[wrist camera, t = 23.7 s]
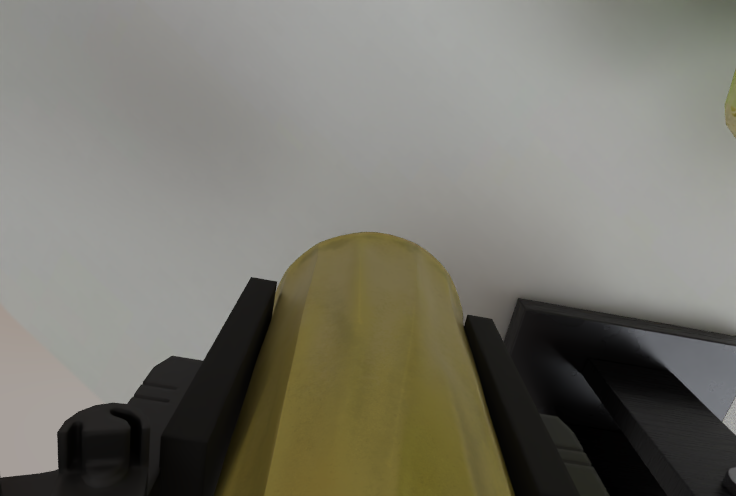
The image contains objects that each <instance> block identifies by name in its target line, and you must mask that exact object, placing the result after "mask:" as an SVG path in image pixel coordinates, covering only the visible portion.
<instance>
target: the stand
mask: <svg viewBox="0 0 736 496" xmlns="http://www.w3.org/2000/svg"><path fill="white" fill-rule="evenodd" d="M504 344H505V346H506V348H507V350H508V352H509V354H510V356H511V358H512V360H513V362H514V364H515V366H516V368H517V370H518V372H519V374H520V376H521V378H522V380H523V382H524V384H525V386H526V388H527V390H528V392H529V394H530V396H531V398H532V400H533V402H534V404H535V406H536V408H537V410H538V412H539V414H545V415H551V416H557V417H558V418H559V419H560V420H561V421H563V422H564V423H565V424H566V425H567V426H568V427H569V428H570V429H571V430H572V431H573V432H574V434H575V435H576V437H577V439H578V441H579V442H580V444H581V446H582V448H583V452H584V453H586V455H587V457H588V458H589V460H590V462H591V467H594V469H595V471H596V472H597V474H598V476H599V478H600V479H601V481H602V483H603V485H604V486H605V488H606V490H607V492H608V493H609V495H610V496H736V435H735V434H734V433H733V432H732V431H731V430H730V429H729V428H728V427H727V426H726V425H725V424H723V423H722V421H723V419H724V417H725V415H726V414H727V412H728V410H729V408H730V406H731V404H732V402H733V400H734V399H735V397H736V336H731V335H725V334H720V333H714V332H708V331H702V330H697V329H691V328H685V327H680V326H674V325H668V324H663V323H657V322H651V321H646V320H640V319H634V318H629V317H623V316H617V315H611V314H606V313H600V312H594V311H589V310H583V309H577V308H572V307H566V306H560V305H555V304H549V303H543V302H538V301H532V300H526V299H520V298H518V301H517V304H516V307H515V310H514V313H513V316H512V319H511V322H510V325H509V328H508V331H507V334H506V337H505V340H504Z"/></svg>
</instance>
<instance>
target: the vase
mask: <svg viewBox="0 0 736 496" xmlns="http://www.w3.org/2000/svg"><path fill="white" fill-rule="evenodd" d="M213 496H515V494H514V490H513V487H512V484H511V480H510V477H509V474H508V471H507V467H506V464H505V461H504V458H503V455H502V451H501V448H500V445H499V442H498V439H497V436H496V432H495V429H494V426H493V423H492V420H491V417H490V414H489V410H488V407H487V404H486V400H485V396H484V393H483V389H482V385H481V381H480V378H479V374H478V371H477V368H476V364H475V361H474V358H473V355H472V352H471V348H470V345H469V342H468V339H467V336H466V333H465V330H464V326H463V313H462V307H461V303H460V300H459V296H458V293H457V291H456V288H455V286H454V283H453V281H452V279H451V277H450V275H449V274H448V272H447V271H446V269H445V268H444V267H443V266H442V265H441V263H440V262H439V261H438V260H437V259H436V258H435V257H433V256H432V255H431V254H430V253H429V252H428V251H426V250H425V249H423V248H422V247H420V246H419V245H417V244H415V243H413V242H411V241H408V240H406V239H403V238H400V237H396V236H393V235H389V234H383V233H378V232H360V233H352V234H347V235H342V236H338V237H334V238H331V239H328V240H325V241H322V242H320V243H318V244H316V245H315V246H313V247H312V248H310V249H309V250H308V251H306V252H305V253H304V254H302V255H301V256H300V257H299V258H298V259H297V260H296V261H295V262H294V263H293V264H292V265H291V266H290V267H289V268H288V269H287V271H286V272H285V274H284V276H283V277H282V279H281V281H280V283H279V285H278V288H277V290H276V293H275V300H274V307H273V314H272V319H271V322H270V325H269V328H268V331H267V333H266V336H265V339H264V341H263V344H262V347H261V349H260V352H259V355H258V357H257V360H256V363H255V367H254V370H253V373H252V377H251V380H250V383H249V386H248V389H247V393H246V396H245V399H244V402H243V405H242V408H241V411H240V414H239V417H238V420H237V423H236V426H235V429H234V432H233V435H232V438H231V441H230V444H229V447H228V450H227V453H226V456H225V459H224V462H223V466H222V469H221V473H220V477H219V480H218V483H217V486H216V489H215V492H214V495H213Z"/></svg>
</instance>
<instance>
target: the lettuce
mask: <svg viewBox="0 0 736 496" xmlns="http://www.w3.org/2000/svg"><path fill="white" fill-rule="evenodd" d="M725 117H726V125H727V126H728V128H729V130H730V131H731V132H732V134H733V135H734V137H735V138H736V70H735V73H734V76H733V80H732V83H731V86H730V89H729V93H728V96H727V99H726V103H725Z"/></svg>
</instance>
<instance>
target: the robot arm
mask: <svg viewBox="0 0 736 496" xmlns="http://www.w3.org/2000/svg"><path fill="white" fill-rule="evenodd" d="M276 285H277V282H276V281H270V280H264V279H258V278H253V277H251V278H250V280H249V282H248V284H247V285H246V287H245V289H244V291H243V292H242V294H241V296H240V298H239V299H238V301H237V303H236V305H235V306H234V308H233V310H232V312H231V313H230V315H229V317H228V319H227V320H226V322H225V324H224V326H223V328H222V329H221V331H220V333H219V335H218V336H217V338H216V340H215V342H214V343H213V345H212V347H211V349H210V350H209V352H208V354H207V356H206V357H205V359H204V361H201V360H195V359H189V358H182V357H176V356H171V357H169V358H168V359H166V360H165V361H163V362H161V363H160V364H158V365H156V366H155V367H154V368H153V369H152V370H151V372H150V373H149V375H148V376H147V377H146V379H145V380H144V381H143V385H141V386H140V387H139V388H138V390H137V391H136V393H135V394H134V397H132V398H131V399H130V401H129V402H128V404H120V403H108V404H101V405H95V406H92V407H90V408H87V409H85V410H82V411H79V412H78V413H76V414H75V415H73V416H72V417H70V418H69V419H68V420H66V421H65V422H64V424H63V425H62V427H61V428H60V429H59V431H58V432H57V437H58V467H59V469H58V470H55V471H51V472H45V473H40V474H32V475H22V476H13V477H3V478H0V496H213V495H214V492H215V489H216V486H217V483H218V480H219V477H220V473H221V469H222V466H223V462H224V459H225V456H226V453H227V450H228V447H229V444H230V441H231V438H232V435H233V432H234V429H235V426H236V423H237V420H238V417H239V414H240V411H241V408H242V405H243V402H244V399H245V396H246V393H247V389H248V386H249V383H250V380H251V377H252V373H253V370H254V367H255V363H256V360H257V357H258V355H259V352H260V349H261V347H262V344H263V341H264V339H265V336H266V333H267V331H268V328H269V325H270V322H271V319H272V314H273V307H274V300H275V292H276ZM464 330H465V333H466V336H467V339H468V342H469V345H470V348H471V352H472V355H473V358H474V361H475V364H476V368H477V371H478V374H479V378H480V381H481V385H482V389H483V393H484V396H485V400H486V404H487V407H488V410H489V414H490V417H491V420H492V423H493V426H494V429H495V432H496V436H497V439H498V442H499V445H500V448H501V451H502V455H503V458H504V461H505V464H506V467H507V471H508V474H509V477H510V480H511V484H512V487H513V490H514V494H515V496H610V495H609V493H608V492H607V490H606V488H605V486H604V485H603V483H602V481H601V479H600V478H599V476H598V474H597V472H596V471H595V469H594V467H591V462H590V460H589V458H588V457H587V455H586V453H584V452H583V448H582V446H581V444H580V442H579V441H578V439H577V437H576V435H575V434H574V432H573V431H572V430H571V429H570V428H569V427H568V426H567V425H566V424H565V423H564V422H563V421H561V420H560V419H559V418H558V417H557V416H551V415H545V414H539V412H538V410H537V408H536V406H535V404H534V402H533V400H532V398H531V396H530V394H529V392H528V390H527V388H526V386H525V384H524V382H523V380H522V378H521V376H520V374H519V372H518V370H517V368H516V366H515V364H514V362H513V360H512V358H511V356H510V354H509V352H508V350H507V348H506V346H505V344H504V342H503V340H502V338H501V336H500V334H499V332H498V330H497V328H496V326H495V324H494V322H493V320H492V319H489V318H483V317H478V316H472V315H467V318H466V322H465V325H464Z"/></svg>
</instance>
